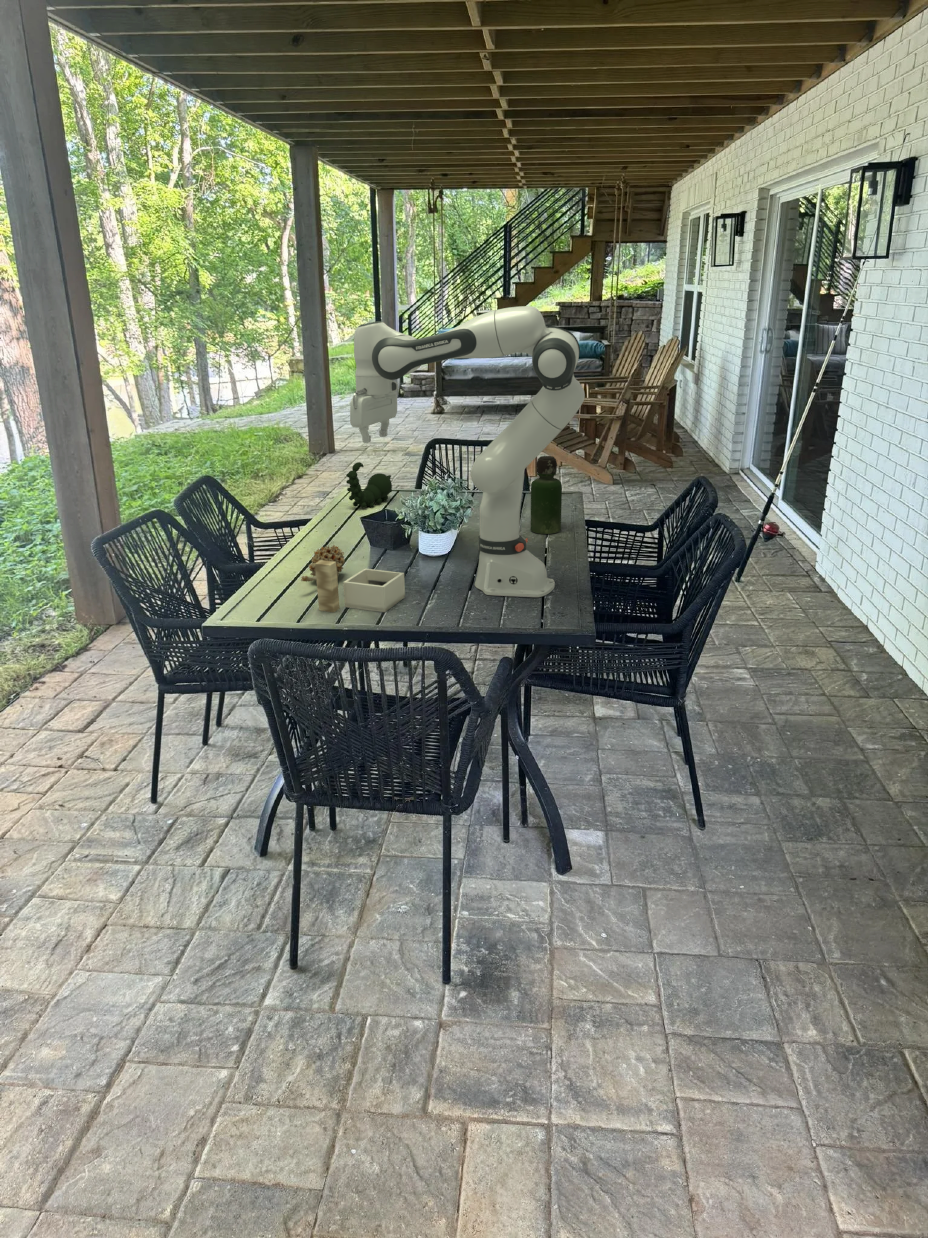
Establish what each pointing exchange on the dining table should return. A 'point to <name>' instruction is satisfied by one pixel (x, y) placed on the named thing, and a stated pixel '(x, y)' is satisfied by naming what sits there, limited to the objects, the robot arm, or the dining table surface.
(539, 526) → the green bottle
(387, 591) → the square planter tray
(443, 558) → the dining table surface
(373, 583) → the clip
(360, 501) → the toy figurine
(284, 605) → the dining table surface
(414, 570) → the dining table surface
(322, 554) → the pine cone
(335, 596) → the tall tan wooden post
